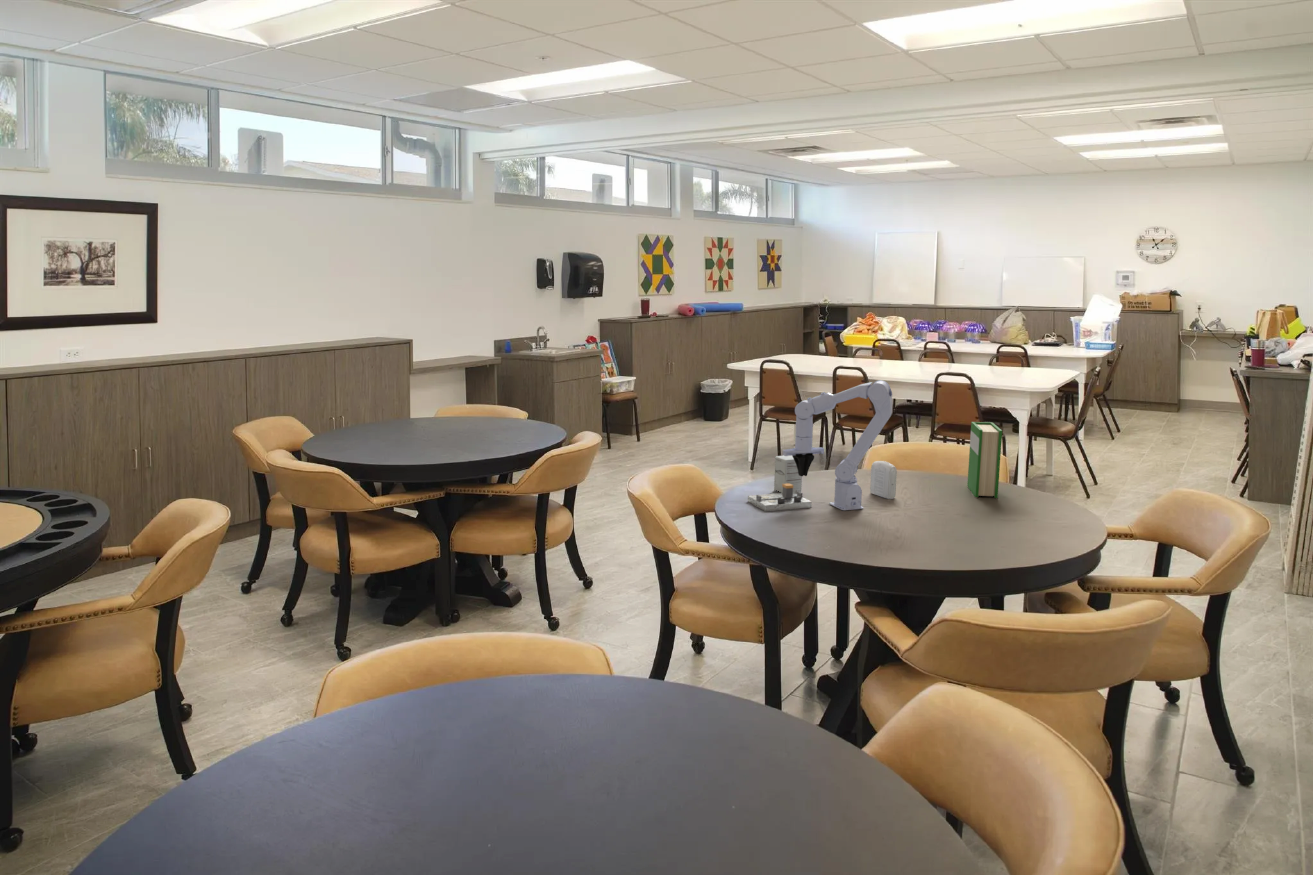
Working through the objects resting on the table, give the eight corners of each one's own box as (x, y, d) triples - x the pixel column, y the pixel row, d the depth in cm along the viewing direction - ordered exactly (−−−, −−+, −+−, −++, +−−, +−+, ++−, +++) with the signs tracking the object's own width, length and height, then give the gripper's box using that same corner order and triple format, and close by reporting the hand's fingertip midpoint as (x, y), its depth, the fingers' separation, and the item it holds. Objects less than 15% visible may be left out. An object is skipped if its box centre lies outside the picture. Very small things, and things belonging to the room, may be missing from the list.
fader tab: (793, 498, 315) (793, 485, 315) (786, 498, 314) (786, 485, 314) (788, 495, 318) (789, 483, 318) (781, 496, 317) (782, 483, 317)
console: (811, 507, 312) (811, 496, 311) (765, 511, 307) (765, 500, 306) (792, 497, 325) (792, 487, 324) (747, 501, 320) (748, 491, 319)
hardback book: (997, 498, 325) (1002, 430, 321) (975, 497, 326) (979, 430, 322) (988, 487, 342) (992, 422, 338) (967, 486, 343) (971, 421, 339)
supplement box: (773, 490, 336) (774, 456, 334) (790, 488, 339) (791, 454, 337) (784, 494, 329) (785, 459, 327) (802, 492, 332) (803, 458, 330)
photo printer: (897, 498, 325) (899, 463, 323) (887, 499, 323) (889, 464, 321) (877, 492, 334) (878, 458, 332) (868, 493, 332) (869, 459, 330)
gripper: (817, 433, 320) (816, 471, 323) (779, 435, 316) (778, 474, 318) (827, 436, 314) (826, 476, 316) (788, 438, 309) (787, 478, 312)
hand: (802, 475), depth 317 cm, fingers closed
